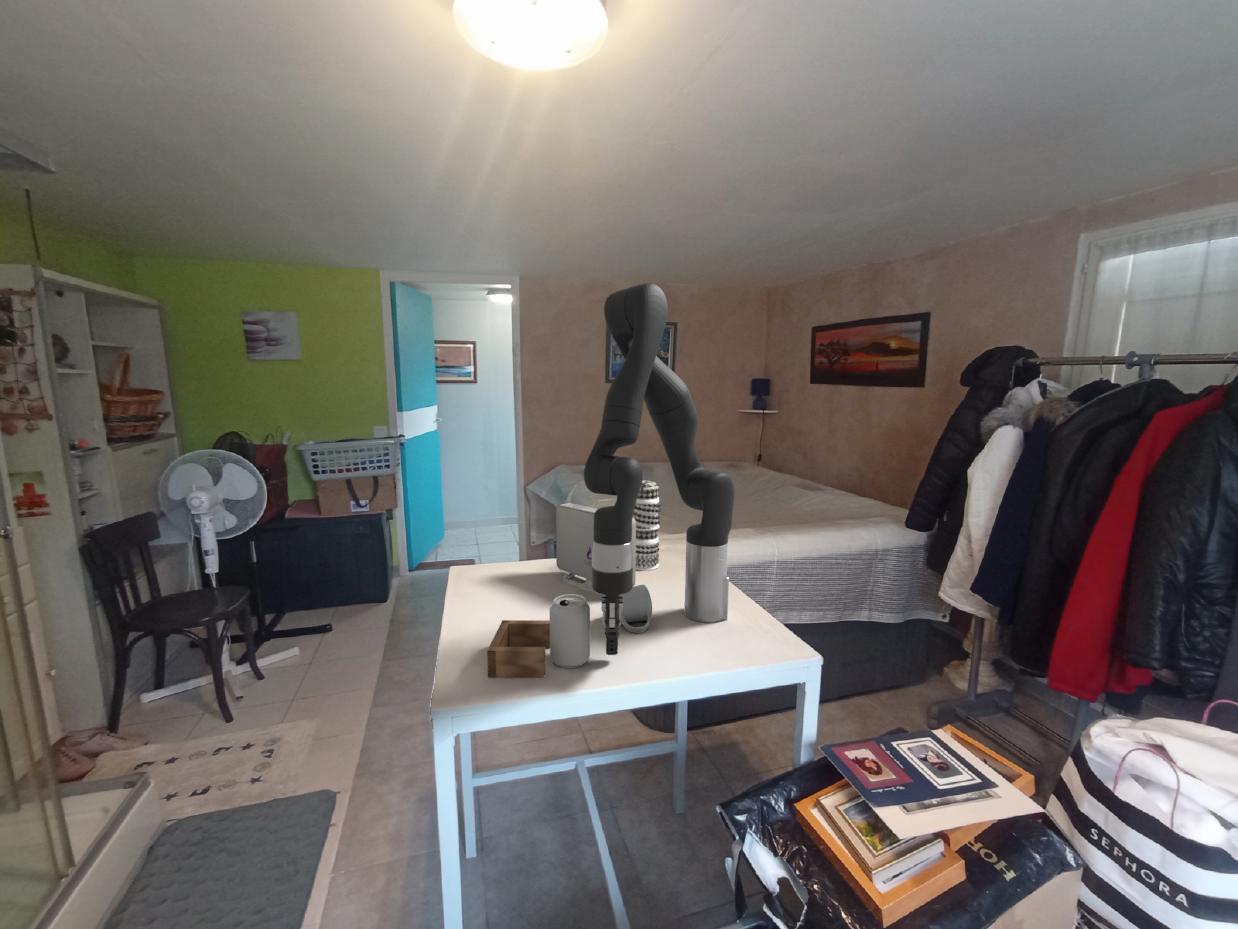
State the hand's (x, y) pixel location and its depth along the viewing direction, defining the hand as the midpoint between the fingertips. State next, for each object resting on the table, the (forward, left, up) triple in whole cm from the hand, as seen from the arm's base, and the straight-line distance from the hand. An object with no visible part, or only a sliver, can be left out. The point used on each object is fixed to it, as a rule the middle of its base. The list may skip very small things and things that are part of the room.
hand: (611, 652), depth 98 cm
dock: (+17, 0, -2) cm, 17 cm away
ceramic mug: (-5, -17, -2) cm, 17 cm away
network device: (+5, -40, -2) cm, 41 cm away
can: (+8, 0, -2) cm, 8 cm away
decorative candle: (-9, -55, -2) cm, 56 cm away
